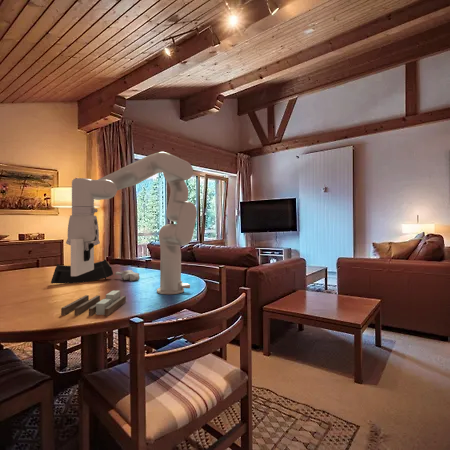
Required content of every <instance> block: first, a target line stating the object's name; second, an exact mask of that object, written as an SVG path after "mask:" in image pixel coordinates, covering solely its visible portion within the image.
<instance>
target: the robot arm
mask: <svg viewBox="0 0 450 450" xmlns="http://www.w3.org/2000/svg"><path fill="white" fill-rule="evenodd" d="M161 173H162V174H163V177H164V180H166V182H167V183H168V186H169V189H170V192H169V193H170V194H169V198H168V199H169V200H168V203H167V208H166V218H167V219H168V220H169V221H171V222H176V223H167V224H165V225H162V226H161V228H160V229H159V231H158V240H159V241H158V242H159V246H160V249H159V250H160V266H159V267H160V269H159V270H160V271H159V272H160V274H159V275H160V276H159V277H160V278H159V279H160V280H159V283H160V284H159V285H160V286H159V287H158V288H157V289H156V293H157V294H161V295H177V294H178V295H179V294H182V293H184V291H185V289H191V284H190V283H184V282H183V280H182V251H181V246H187V245H188V244H189V243H191V241H192V238H193V235H194V232H195V226H196V222H197V216H198V213H197V212H198V211H197V207H196V205H195V204H194V203H193V202H192V201H188V199H189V188H188V185H187V182H185V181H187V180H190V179H191V178H192V177H193V175H194V169H193V166H192V165H191V163H190V162H188V161H187V160H185V159H182V158H180V157H178V156H175V155H174V154H171V153H169V152H165V151H159V152H155V153H152V154H149V155H147V156H144V157H142V158H140V159H139V160H136V161H135V162H132V163H130V164H128V165H126V166H123V167H121V168H120V169H117V170H115V171H113V172H111V173H109V174H107V175H105V176H103V177H100V178H98V179H90V178H86V177H82V178H81V177H76V178H73V179H72V180H71V215H69V218H68V224H67V226H68V227H67V239H66V241H65V244H67V245H69V246H71V239H83V242H85V251H84V261H89V259H90V250H91V249H92V248H93V247H94V248H95V247H96V246H97V245H100V232H99V231H100V230H99V224H98V222H99V221H98V217H97V215H95V213H98V209H97V208H95V203H94V202H95V200H96V201H100V200H101V201H102V200H110V199H112V198H114V197H115V196H116V194H117V193H118V191H120V190H123V189H125V188H130V187H134V186H136V185H138V184H140V183H142V182H144V181H145V180H147V179H150V178H151V177H153V176H155V175H157V174H161ZM92 241H94V242H93V243H92Z"/></svg>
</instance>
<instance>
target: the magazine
mask: <svg viewBox="0 0 450 450" xmlns="http://www.w3.org/2000/svg"><path fill="white" fill-rule="evenodd" d="M113 275H114V272H113V269H112V266H111V264H110V263H109V261H107V259H103V260H101V261H97V262H94V270H92V271H89V272H86V273H84V274H81V275H79V276H71V265H62V264H61V265H60V264H57V263H56V265H55V269H54V272H53V275H52V277H51V281H50V284H52V285H53V284H80V283H89V282H95V281H99V280H104V279H105V280H107V278H110V277H111V276H113Z"/></svg>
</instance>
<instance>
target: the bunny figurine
mask: <svg viewBox="0 0 450 450" xmlns="http://www.w3.org/2000/svg"><path fill="white" fill-rule="evenodd" d="M114 275H117V276H120V277H121V279H122V280H125V281H129V282H135V281H139V280H140V273H138V272H134V271H133V270H132V269H127V270H122V272H119V271H116V272H115V274H114Z"/></svg>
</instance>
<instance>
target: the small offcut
mask: <svg viewBox="0 0 450 450" xmlns="http://www.w3.org/2000/svg"><path fill="white" fill-rule="evenodd" d="M109 305H111V299H105V298H103V299H100V301H99V302H98V303H96V313H95V315H97V316H99V315H101V316H102V315H103V316H105V308H107V307H108V306H109Z"/></svg>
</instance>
